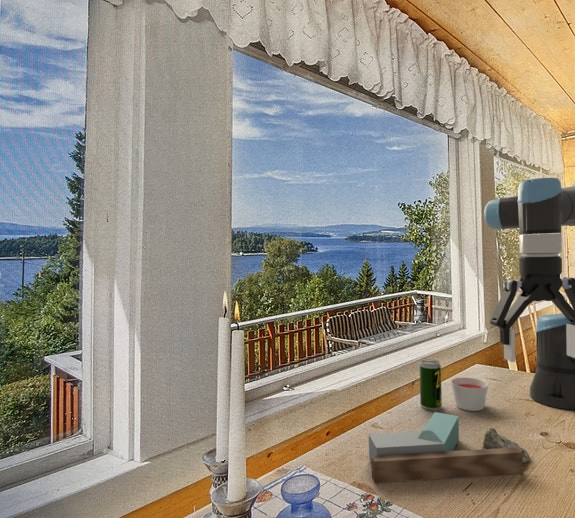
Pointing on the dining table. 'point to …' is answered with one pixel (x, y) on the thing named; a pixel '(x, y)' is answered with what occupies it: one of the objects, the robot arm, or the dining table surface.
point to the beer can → (430, 384)
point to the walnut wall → (447, 464)
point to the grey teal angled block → (418, 438)
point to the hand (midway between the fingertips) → (541, 358)
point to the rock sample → (501, 443)
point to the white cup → (469, 393)
